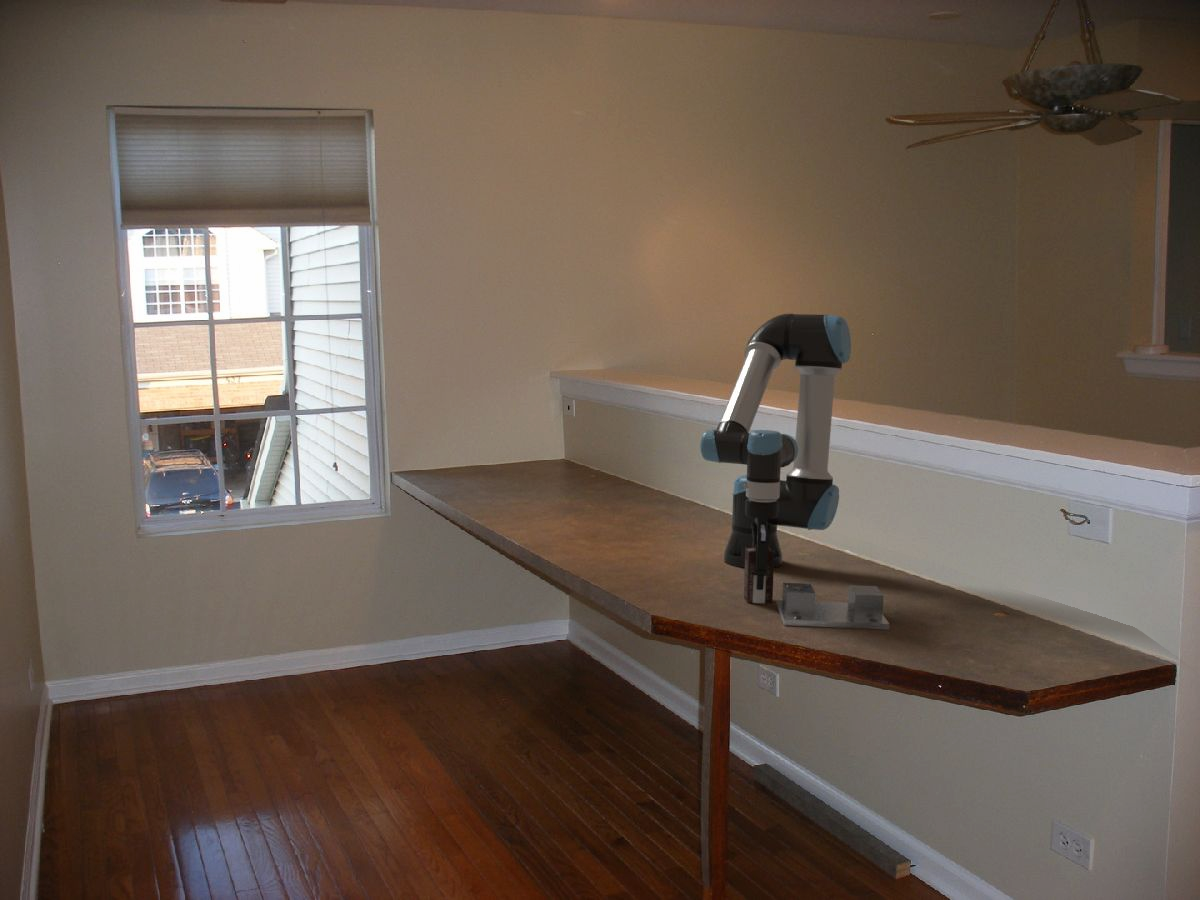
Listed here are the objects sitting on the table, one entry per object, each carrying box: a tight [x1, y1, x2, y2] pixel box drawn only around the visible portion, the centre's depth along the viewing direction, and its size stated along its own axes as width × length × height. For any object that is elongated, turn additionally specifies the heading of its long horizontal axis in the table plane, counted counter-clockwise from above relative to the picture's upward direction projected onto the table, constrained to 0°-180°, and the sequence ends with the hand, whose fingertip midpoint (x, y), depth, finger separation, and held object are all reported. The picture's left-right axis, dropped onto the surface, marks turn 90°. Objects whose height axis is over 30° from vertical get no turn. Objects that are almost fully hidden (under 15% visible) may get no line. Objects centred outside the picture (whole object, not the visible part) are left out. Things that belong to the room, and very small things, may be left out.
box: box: [743, 548, 775, 604], centre depth 261 cm, size 6×4×12 cm
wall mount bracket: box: [776, 582, 890, 630], centre depth 250 cm, size 16×22×6 cm
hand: (757, 599), depth 262 cm, fingers closed on box, 5 cm apart
